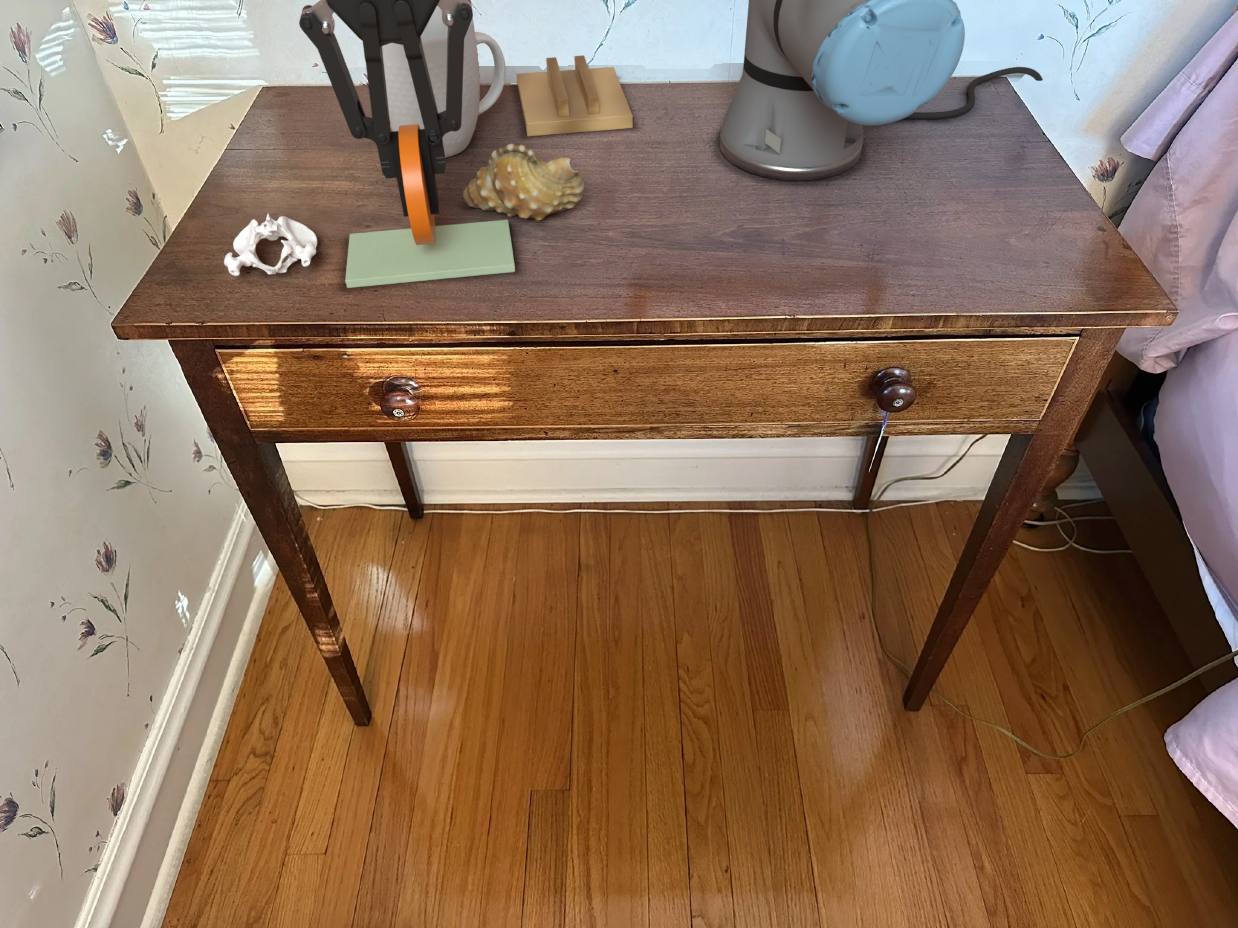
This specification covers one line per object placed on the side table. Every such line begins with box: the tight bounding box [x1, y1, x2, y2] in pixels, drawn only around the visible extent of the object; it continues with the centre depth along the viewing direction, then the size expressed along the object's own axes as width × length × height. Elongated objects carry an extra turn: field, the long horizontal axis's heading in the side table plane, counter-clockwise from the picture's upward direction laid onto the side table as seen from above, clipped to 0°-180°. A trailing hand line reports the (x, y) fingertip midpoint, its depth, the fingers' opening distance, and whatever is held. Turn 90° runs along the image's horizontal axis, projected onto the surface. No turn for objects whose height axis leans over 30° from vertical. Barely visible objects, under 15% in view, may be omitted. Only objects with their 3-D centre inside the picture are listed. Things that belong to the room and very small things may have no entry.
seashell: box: [462, 143, 585, 221], centre depth 86 cm, size 9×8×10 cm
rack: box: [515, 55, 634, 137], centre depth 105 cm, size 12×14×4 cm
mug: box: [382, 6, 507, 159], centre depth 95 cm, size 15×11×13 cm
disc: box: [398, 124, 436, 245], centre depth 78 cm, size 2×10×10 cm, turn 9°
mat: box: [344, 219, 516, 289], centre depth 83 cm, size 15×8×1 cm, turn 99°
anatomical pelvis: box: [223, 213, 318, 277], centre depth 81 cm, size 8×4×7 cm
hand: (421, 207), depth 80 cm, fingers closed on disc, 2 cm apart
